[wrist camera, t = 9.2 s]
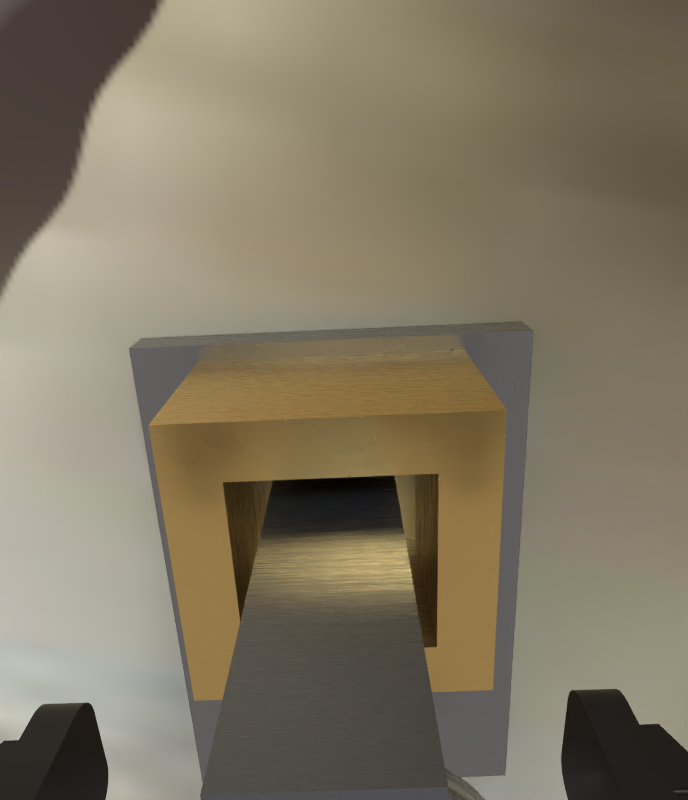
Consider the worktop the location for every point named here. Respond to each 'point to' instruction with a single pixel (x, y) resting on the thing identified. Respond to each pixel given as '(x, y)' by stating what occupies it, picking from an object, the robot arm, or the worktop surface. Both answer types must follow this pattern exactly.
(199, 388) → the rosette stand
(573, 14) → the worktop surface
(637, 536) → the worktop surface
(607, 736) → the robot arm
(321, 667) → the grey square beam
